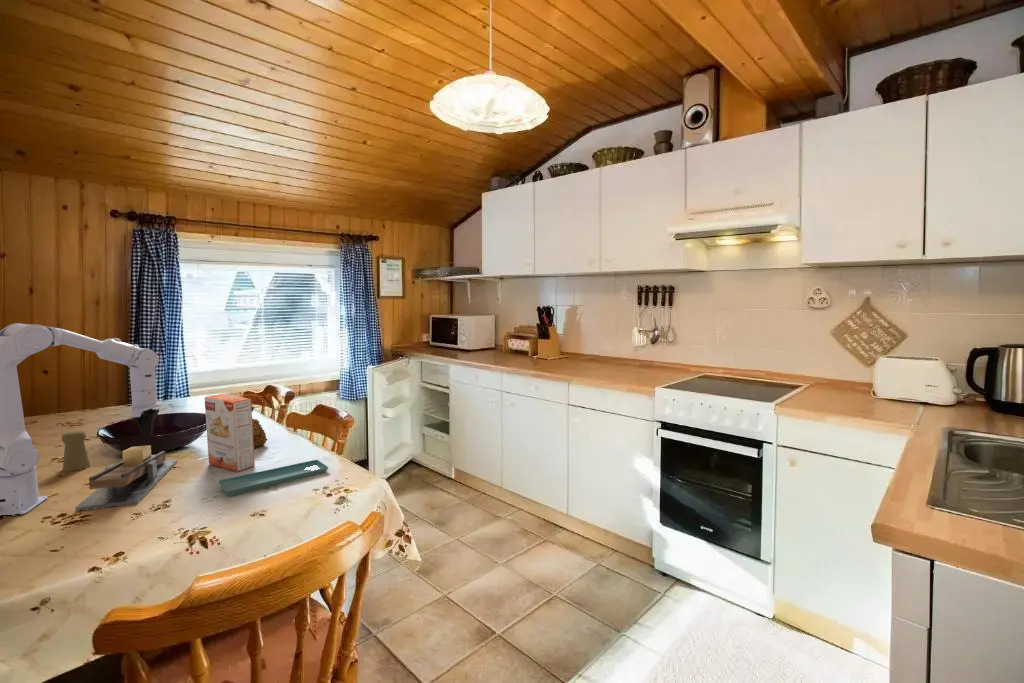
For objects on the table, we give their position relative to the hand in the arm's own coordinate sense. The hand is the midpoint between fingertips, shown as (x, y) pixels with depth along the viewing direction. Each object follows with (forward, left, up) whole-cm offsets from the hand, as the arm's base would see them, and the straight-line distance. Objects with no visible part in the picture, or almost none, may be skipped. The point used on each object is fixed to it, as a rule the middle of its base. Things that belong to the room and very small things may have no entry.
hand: (147, 435), depth 138 cm
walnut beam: (-12, 0, -6) cm, 13 cm away
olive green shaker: (+7, +20, -10) cm, 23 cm away
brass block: (-8, 0, -5) cm, 10 cm away
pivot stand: (-12, 0, -10) cm, 16 cm away
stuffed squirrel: (+14, -24, -10) cm, 30 cm away
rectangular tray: (-21, -36, -11) cm, 43 cm away
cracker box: (-5, -22, -10) cm, 25 cm away
